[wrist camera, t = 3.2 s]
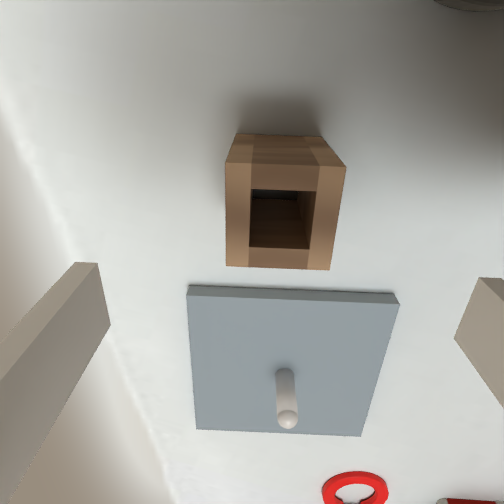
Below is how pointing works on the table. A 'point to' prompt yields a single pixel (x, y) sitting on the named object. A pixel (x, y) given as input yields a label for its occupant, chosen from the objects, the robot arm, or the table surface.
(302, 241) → the block
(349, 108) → the table surface
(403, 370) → the table surface
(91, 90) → the table surface
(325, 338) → the pin plate
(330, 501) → the tow hook
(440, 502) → the striped mailbox
